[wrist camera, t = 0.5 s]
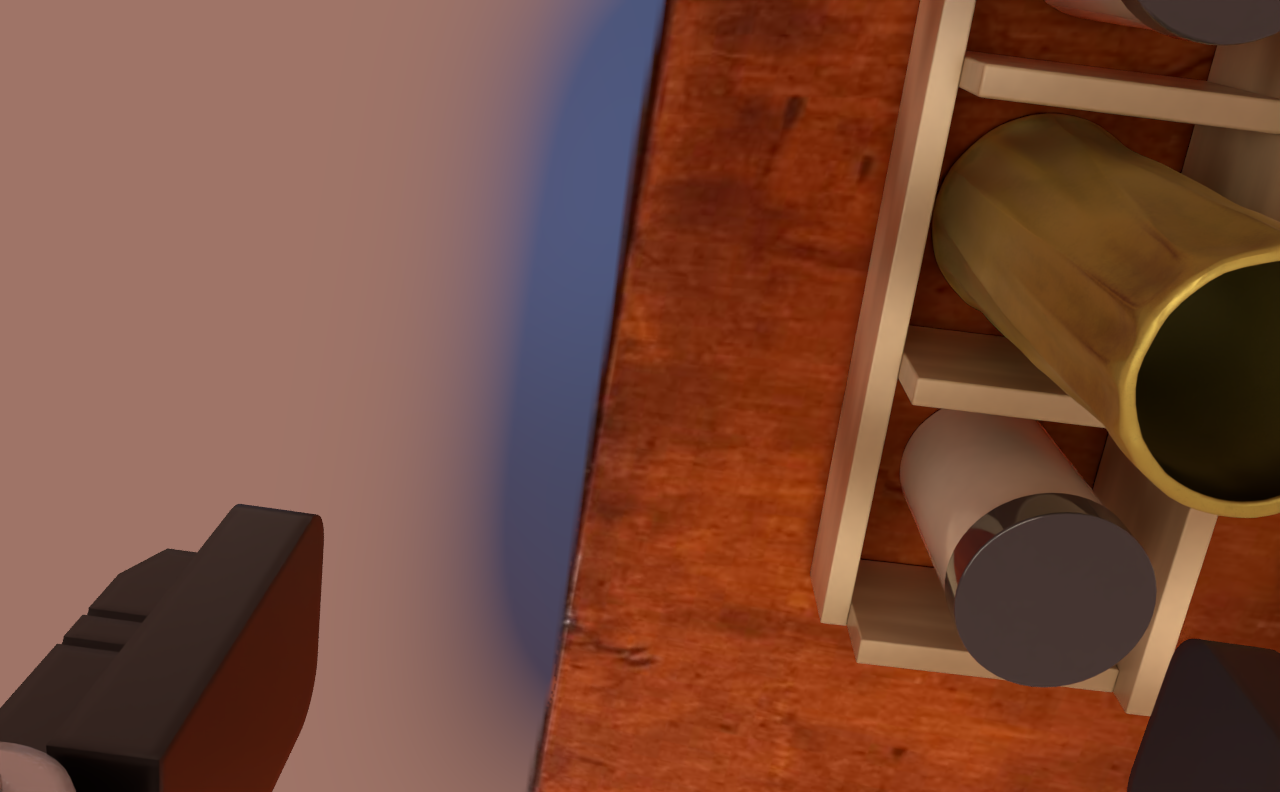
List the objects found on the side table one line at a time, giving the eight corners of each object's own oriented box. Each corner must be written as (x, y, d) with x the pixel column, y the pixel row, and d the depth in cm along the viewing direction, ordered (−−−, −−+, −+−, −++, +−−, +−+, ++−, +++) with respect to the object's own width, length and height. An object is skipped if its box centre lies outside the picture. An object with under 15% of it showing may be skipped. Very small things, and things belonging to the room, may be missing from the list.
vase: (988, 79, 33) (1205, 166, 20) (1183, 158, 34) (1519, 294, 20) (895, 277, 35) (1033, 477, 22) (1080, 348, 36) (1324, 585, 22)
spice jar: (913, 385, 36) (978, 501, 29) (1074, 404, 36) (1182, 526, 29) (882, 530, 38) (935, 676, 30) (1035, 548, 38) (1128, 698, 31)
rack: (974, -283, 30) (1043, -337, 24) (1327, -237, 30) (1477, -280, 25) (809, 574, 39) (832, 680, 33) (1083, 606, 39) (1153, 717, 33)
